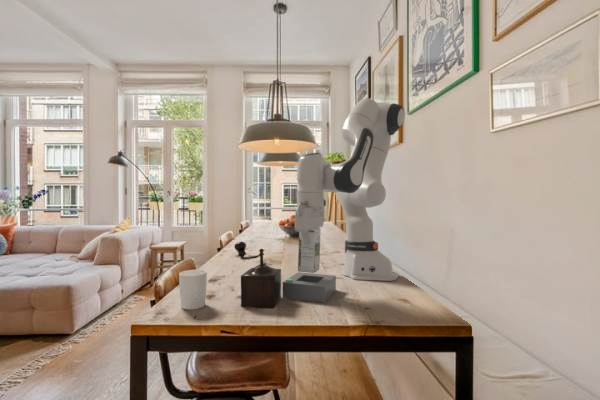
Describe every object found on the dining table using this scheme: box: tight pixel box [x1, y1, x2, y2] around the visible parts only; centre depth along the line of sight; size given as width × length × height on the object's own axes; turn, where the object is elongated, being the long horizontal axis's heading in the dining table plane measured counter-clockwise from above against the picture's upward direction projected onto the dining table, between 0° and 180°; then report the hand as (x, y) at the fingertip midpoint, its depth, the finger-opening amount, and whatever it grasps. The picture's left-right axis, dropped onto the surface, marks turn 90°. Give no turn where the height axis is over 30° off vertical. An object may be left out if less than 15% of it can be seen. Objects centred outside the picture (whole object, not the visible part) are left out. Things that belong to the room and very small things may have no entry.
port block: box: [282, 271, 337, 304], centre depth 104 cm, size 14×14×6 cm
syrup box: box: [297, 227, 322, 274], centre depth 104 cm, size 6×6×14 cm
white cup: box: [178, 268, 208, 311], centre depth 93 cm, size 8×8×10 cm
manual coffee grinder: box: [234, 241, 282, 309], centre depth 97 cm, size 16×11×18 cm
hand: (309, 242), depth 104 cm, fingers closed on syrup box, 6 cm apart
